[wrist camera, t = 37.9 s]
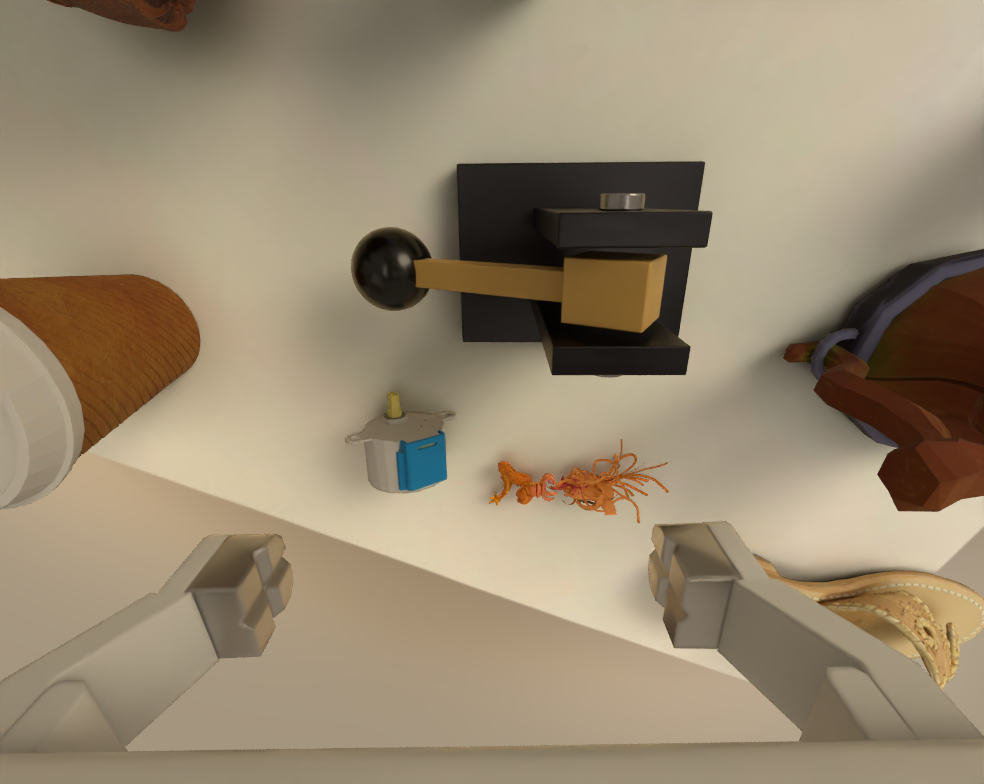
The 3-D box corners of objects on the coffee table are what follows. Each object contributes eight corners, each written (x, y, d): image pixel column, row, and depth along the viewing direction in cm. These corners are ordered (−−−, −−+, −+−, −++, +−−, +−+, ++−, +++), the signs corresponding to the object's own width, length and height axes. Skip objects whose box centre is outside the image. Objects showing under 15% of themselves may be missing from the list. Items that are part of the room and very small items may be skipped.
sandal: (773, 459, 29) (867, 550, 22) (997, 605, 34) (1138, 720, 27) (643, 585, 34) (684, 696, 26) (858, 699, 38) (945, 821, 31)
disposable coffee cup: (212, 248, 25) (-16, 286, 14) (240, 406, 29) (77, 535, 18) (37, 239, 25) (-329, 268, 14) (88, 398, 29) (-171, 522, 18)
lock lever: (393, 299, 23) (338, 313, 21) (387, 224, 22) (327, 228, 19) (660, 333, 17) (634, 359, 14) (674, 231, 16) (648, 238, 13)
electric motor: (361, 426, 22) (327, 400, 26) (371, 513, 23) (337, 477, 27) (479, 397, 26) (434, 379, 30) (481, 474, 27) (438, 447, 31)
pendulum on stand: (463, 336, 27) (439, 429, 16) (458, 165, 23) (422, 134, 12) (670, 336, 27) (789, 430, 16) (696, 163, 23) (871, 129, 12)
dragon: (484, 443, 29) (482, 474, 26) (662, 434, 29) (684, 465, 26) (489, 500, 31) (488, 537, 28) (657, 493, 31) (677, 529, 27)
